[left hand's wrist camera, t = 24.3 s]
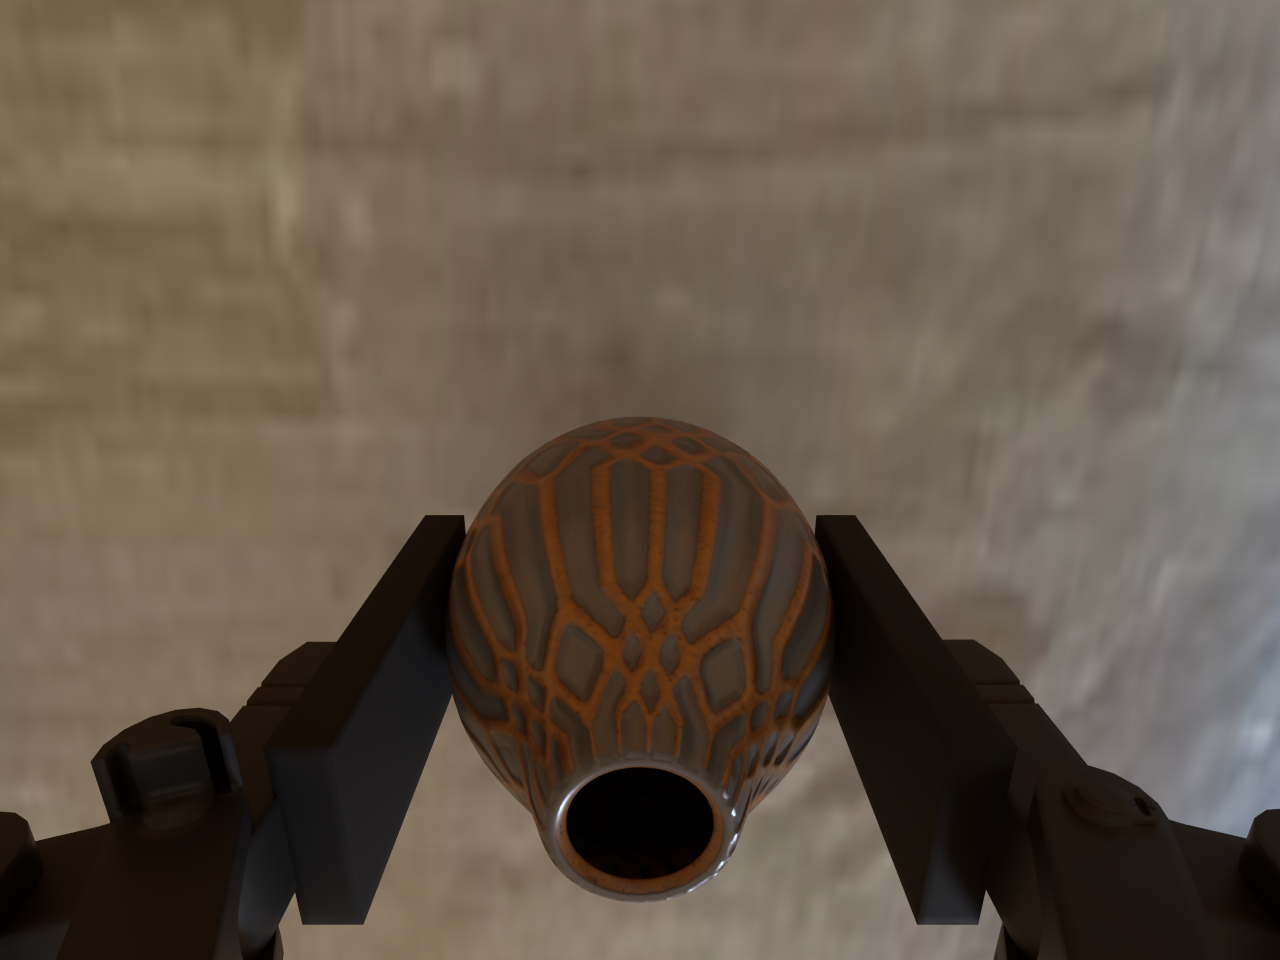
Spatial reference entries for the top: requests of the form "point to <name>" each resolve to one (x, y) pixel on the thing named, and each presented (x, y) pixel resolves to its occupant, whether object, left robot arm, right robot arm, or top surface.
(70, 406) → the top surface
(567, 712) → the lattice patterned pot
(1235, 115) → the top surface
